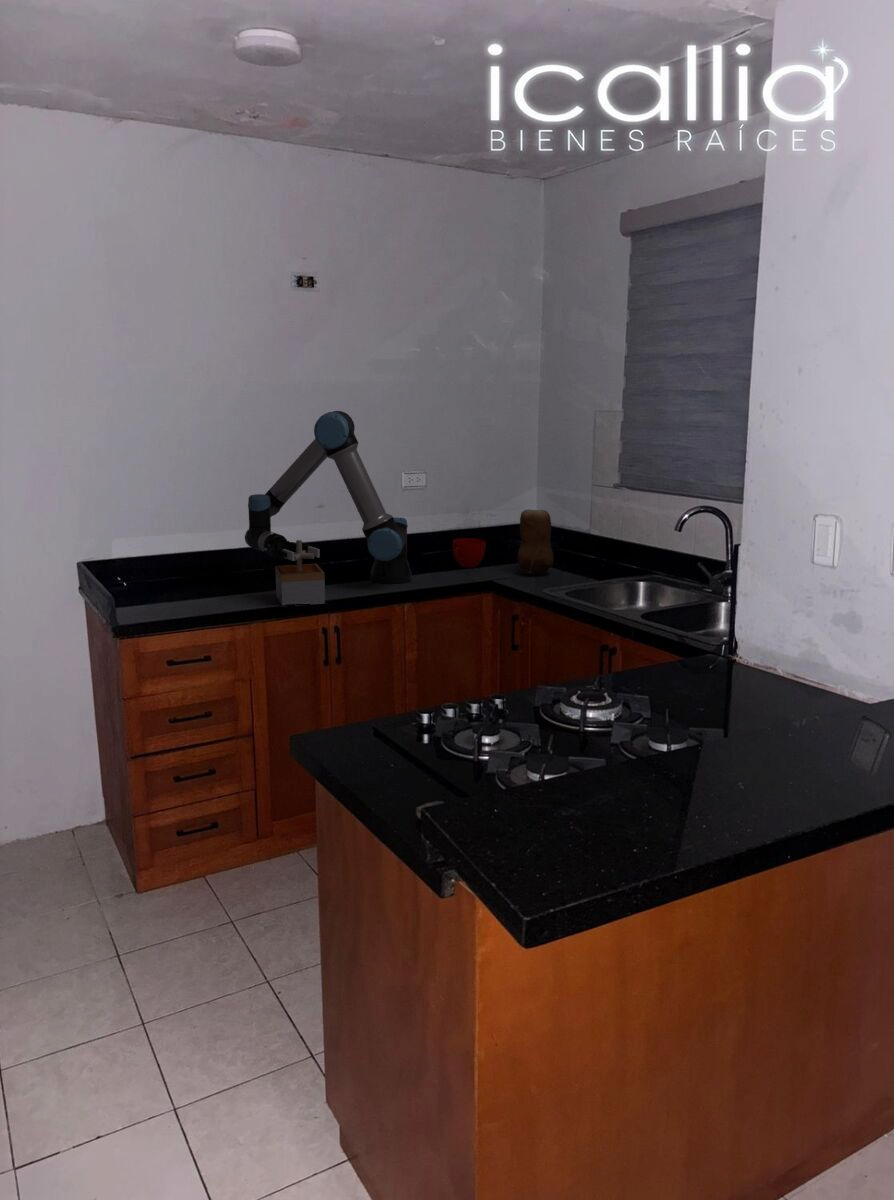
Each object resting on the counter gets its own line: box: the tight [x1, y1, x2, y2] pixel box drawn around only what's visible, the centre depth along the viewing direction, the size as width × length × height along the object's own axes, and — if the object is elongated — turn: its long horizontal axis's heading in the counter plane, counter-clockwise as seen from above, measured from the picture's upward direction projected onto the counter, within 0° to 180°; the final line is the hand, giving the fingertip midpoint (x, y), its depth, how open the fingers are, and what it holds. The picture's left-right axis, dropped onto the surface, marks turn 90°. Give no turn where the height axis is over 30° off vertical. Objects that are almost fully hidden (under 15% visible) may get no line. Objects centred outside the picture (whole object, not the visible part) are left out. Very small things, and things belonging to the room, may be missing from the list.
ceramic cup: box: [452, 537, 487, 569], centre depth 367 cm, size 13×17×10 cm
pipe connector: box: [293, 539, 315, 571], centre depth 310 cm, size 10×10×10 cm
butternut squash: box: [517, 508, 555, 576], centre depth 354 cm, size 14×13×25 cm
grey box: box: [275, 563, 326, 606], centre depth 312 cm, size 14×14×10 cm
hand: (306, 554), depth 306 cm, fingers closed on pipe connector, 9 cm apart
